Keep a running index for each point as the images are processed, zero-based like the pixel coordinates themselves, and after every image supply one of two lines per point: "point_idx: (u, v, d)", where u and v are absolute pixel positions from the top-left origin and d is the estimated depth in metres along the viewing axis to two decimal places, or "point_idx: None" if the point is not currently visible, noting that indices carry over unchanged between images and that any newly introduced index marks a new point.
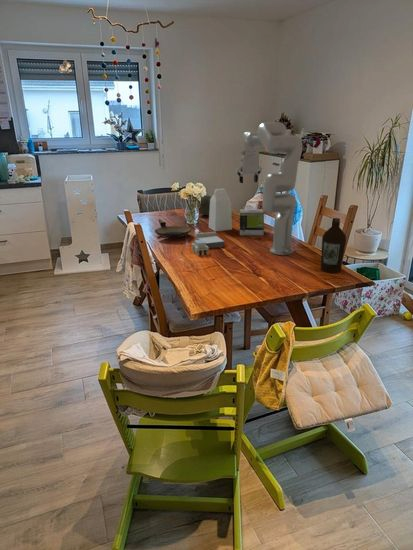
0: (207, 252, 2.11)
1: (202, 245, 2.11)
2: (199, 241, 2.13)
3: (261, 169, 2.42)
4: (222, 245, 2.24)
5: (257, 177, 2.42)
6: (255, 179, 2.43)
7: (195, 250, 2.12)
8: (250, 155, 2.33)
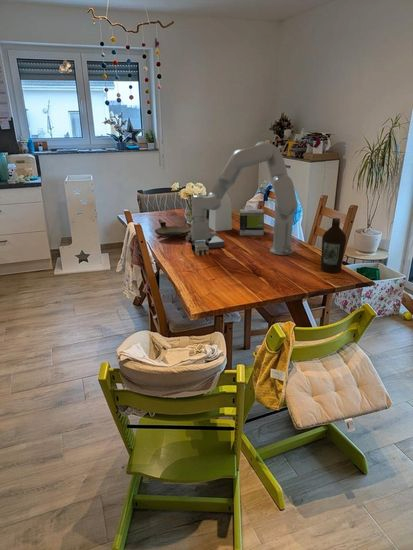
0: (207, 252, 2.11)
1: (202, 245, 2.11)
2: (199, 241, 2.13)
3: (212, 236, 2.14)
4: (222, 245, 2.24)
5: (207, 245, 2.15)
6: None
7: (195, 250, 2.12)
8: (200, 221, 2.05)
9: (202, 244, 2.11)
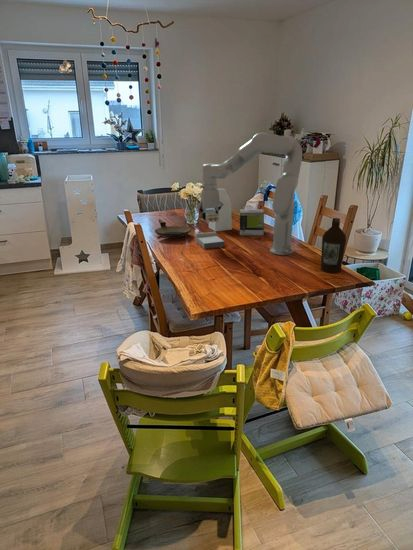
0: (217, 219, 2.18)
1: (212, 213, 2.18)
2: (209, 209, 2.20)
3: (222, 205, 2.21)
4: (222, 245, 2.24)
5: (217, 213, 2.21)
6: None
7: None
8: (210, 189, 2.12)
9: (212, 212, 2.18)
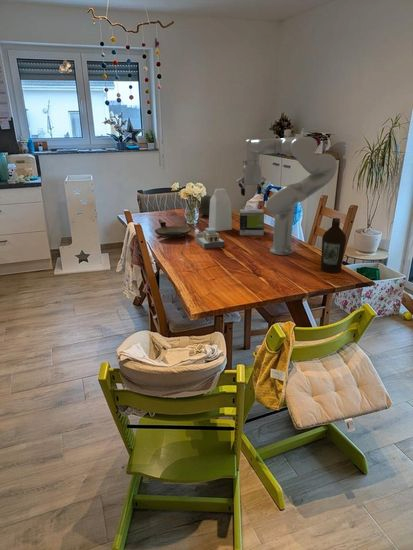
0: (218, 239, 2.23)
1: (212, 232, 2.23)
2: (210, 228, 2.25)
3: (265, 180, 2.18)
4: (222, 245, 2.24)
5: (260, 189, 2.19)
6: (258, 191, 2.19)
7: (206, 237, 2.23)
8: (253, 165, 2.09)
9: (213, 232, 2.23)
